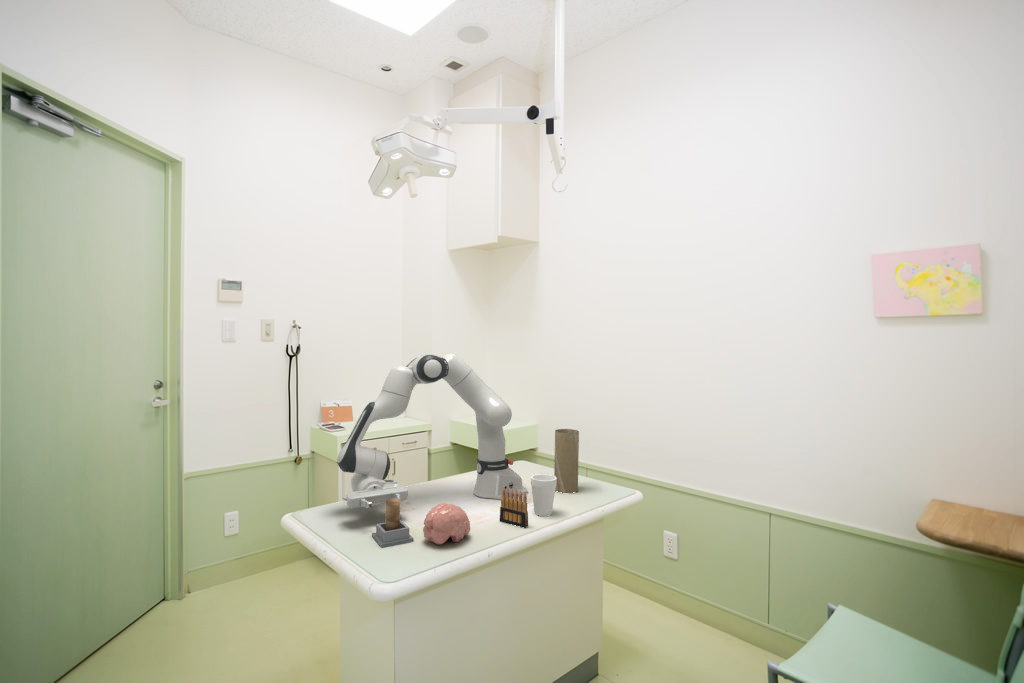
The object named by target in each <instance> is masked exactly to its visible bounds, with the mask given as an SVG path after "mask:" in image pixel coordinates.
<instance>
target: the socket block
mask: <svg viewBox="0 0 1024 683" xmlns="http://www.w3.org/2000/svg"><path fill="white" fill-rule="evenodd" d="M385 524H386V522H381V523H376V525H375V532H372V533H371V538H373V540H374V541H375V542H376V543H377V545H379V547H380V548H381V549H382V548H388V547H393V546H397V545H398V546H399V545H403V544H408V543H413V542H414V537H412V535H411V534H410V527H409V525H407V524H406V523H405V522H404V521H402V520H401V519H400V529H396V530H391V531H385Z"/></svg>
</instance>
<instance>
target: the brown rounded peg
mask: <svg viewBox="0 0 1024 683" xmlns="http://www.w3.org/2000/svg"><path fill="white" fill-rule="evenodd" d="M400 520H401V501H400V499H398V498H391V499H387V500H386V503H385V523H386V524H385V531H391V530H396V529H400Z"/></svg>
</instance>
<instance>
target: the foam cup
mask: <svg viewBox="0 0 1024 683" xmlns="http://www.w3.org/2000/svg"><path fill="white" fill-rule="evenodd" d="M556 483H557V478H556V477H555V476H554V474H553V475H552V474H545V473H542V474H541V473H540V474H539V473H538V474H537V473H536V474H533V475H531V476H530V486H531V493H532V494H531V496H532V504H533V511H534V515H535V516H538V515H539V516H538V517H549V516H548V515H550V516H551V515H552V513H553V508H554V501H555V494H556V491H555V488H556Z"/></svg>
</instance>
